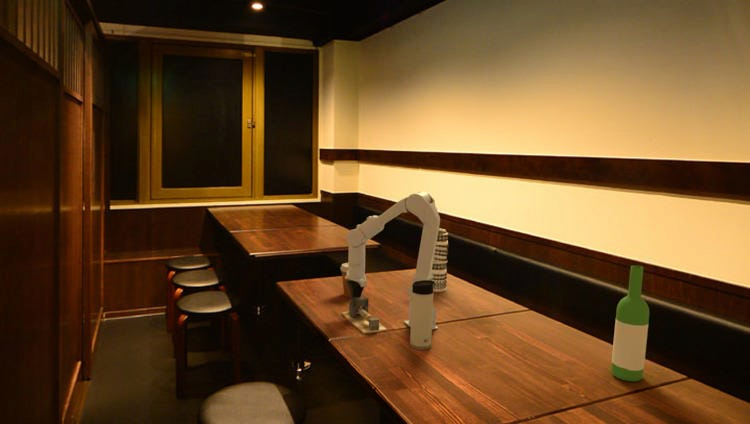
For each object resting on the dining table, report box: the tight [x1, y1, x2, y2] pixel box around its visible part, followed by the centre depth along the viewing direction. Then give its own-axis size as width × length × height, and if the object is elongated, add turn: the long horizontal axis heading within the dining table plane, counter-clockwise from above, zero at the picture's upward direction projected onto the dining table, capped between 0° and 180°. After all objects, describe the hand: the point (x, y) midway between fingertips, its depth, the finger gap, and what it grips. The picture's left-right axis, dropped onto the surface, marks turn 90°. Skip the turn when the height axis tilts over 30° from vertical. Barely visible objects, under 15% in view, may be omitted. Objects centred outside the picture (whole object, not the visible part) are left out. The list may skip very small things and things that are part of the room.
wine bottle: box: [610, 264, 650, 383], centre depth 139 cm, size 8×8×30 cm
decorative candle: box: [431, 227, 450, 293], centre depth 217 cm, size 9×9×25 cm
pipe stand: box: [341, 301, 387, 334], centre depth 177 cm, size 20×8×4 cm, turn 23°
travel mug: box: [409, 280, 435, 351], centre depth 157 cm, size 6×7×20 cm
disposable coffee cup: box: [340, 262, 352, 298], centre depth 207 cm, size 10×10×12 cm
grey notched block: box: [349, 295, 370, 318], centre depth 181 cm, size 3×6×6 cm, turn 114°
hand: (355, 301), depth 183 cm, fingers closed
